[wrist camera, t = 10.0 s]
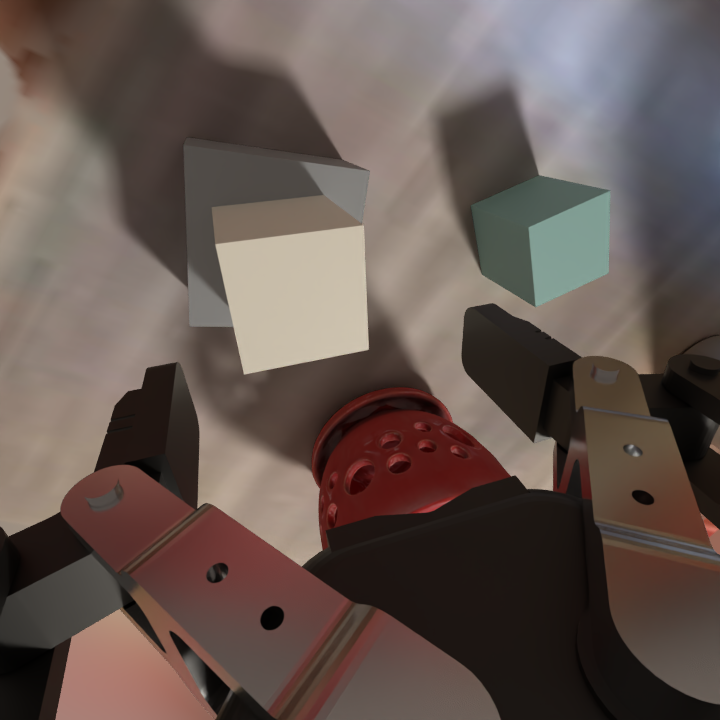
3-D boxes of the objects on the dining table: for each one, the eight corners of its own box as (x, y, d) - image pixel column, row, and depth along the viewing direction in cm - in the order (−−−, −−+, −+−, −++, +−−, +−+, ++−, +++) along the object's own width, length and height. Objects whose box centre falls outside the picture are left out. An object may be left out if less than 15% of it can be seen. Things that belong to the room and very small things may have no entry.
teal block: (538, 175, 28) (610, 190, 23) (543, 246, 31) (608, 273, 26) (470, 205, 28) (528, 227, 23) (481, 274, 31) (535, 307, 26)
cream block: (323, 195, 20) (363, 225, 15) (332, 295, 23) (368, 349, 18) (211, 207, 19) (215, 244, 14) (234, 312, 21) (244, 374, 17)
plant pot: (267, 423, 31) (298, 570, 21) (430, 344, 32) (531, 451, 22) (332, 523, 39) (377, 667, 29) (463, 456, 40) (550, 574, 30)
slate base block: (341, 159, 24) (369, 170, 20) (325, 294, 28) (346, 327, 24) (186, 136, 22) (183, 144, 17) (191, 290, 25) (189, 326, 21)
